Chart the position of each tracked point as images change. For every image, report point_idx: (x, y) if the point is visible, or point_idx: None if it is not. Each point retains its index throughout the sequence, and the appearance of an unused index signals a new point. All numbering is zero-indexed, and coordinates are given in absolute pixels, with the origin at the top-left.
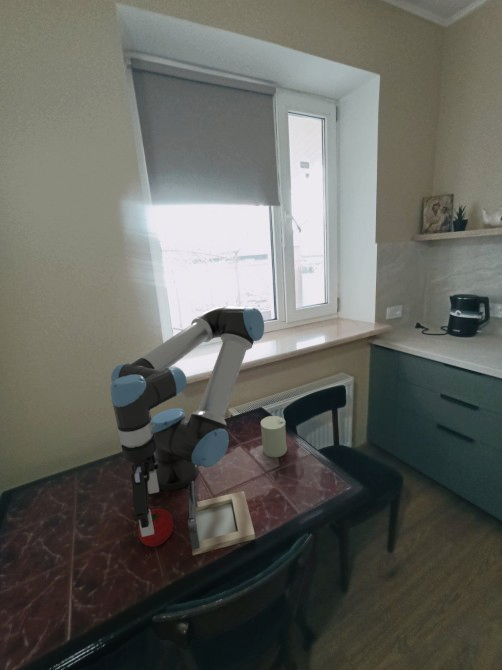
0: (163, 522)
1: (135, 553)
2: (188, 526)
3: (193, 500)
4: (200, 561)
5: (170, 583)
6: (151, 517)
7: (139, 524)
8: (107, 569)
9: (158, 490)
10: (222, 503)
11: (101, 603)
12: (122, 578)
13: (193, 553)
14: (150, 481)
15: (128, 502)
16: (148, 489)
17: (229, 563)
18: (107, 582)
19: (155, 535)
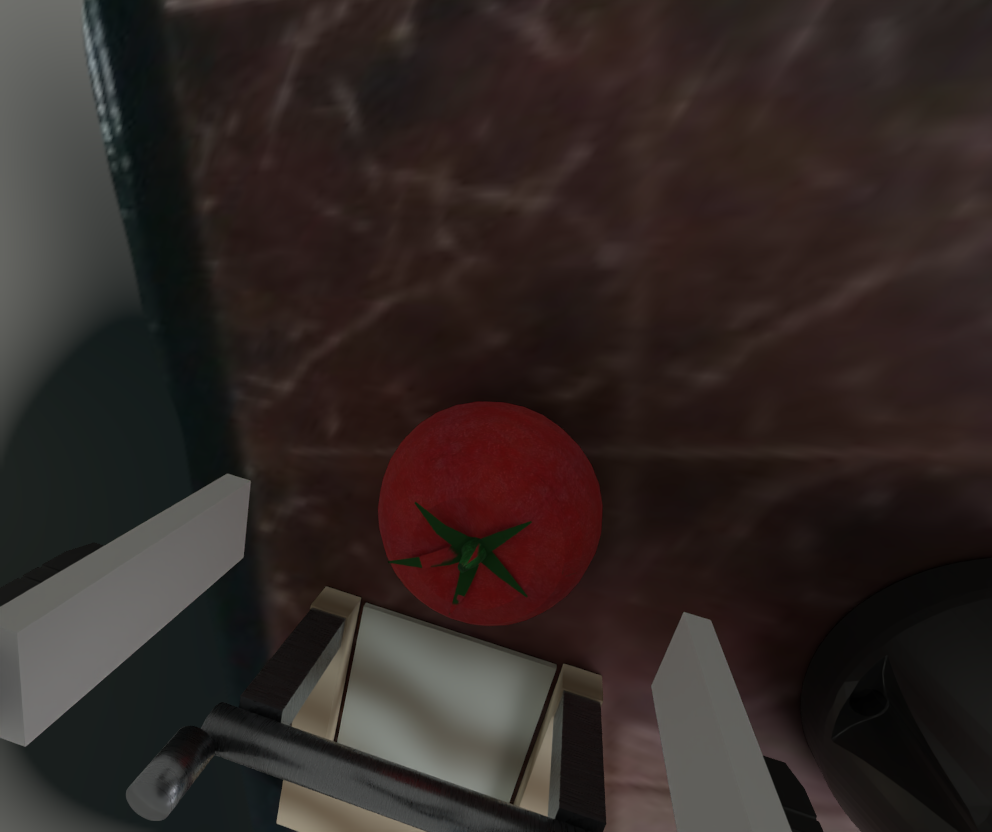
0: (409, 587)
1: (469, 348)
2: (172, 748)
3: (414, 826)
4: (287, 601)
5: (244, 471)
6: (127, 654)
7: (122, 535)
8: (446, 187)
9: (654, 698)
10: (516, 803)
11: (271, 160)
12: (355, 269)
13: (320, 596)
14: (706, 770)
15: (955, 348)
16: (695, 653)
17: (236, 683)
18: (368, 189)
19: (379, 508)
